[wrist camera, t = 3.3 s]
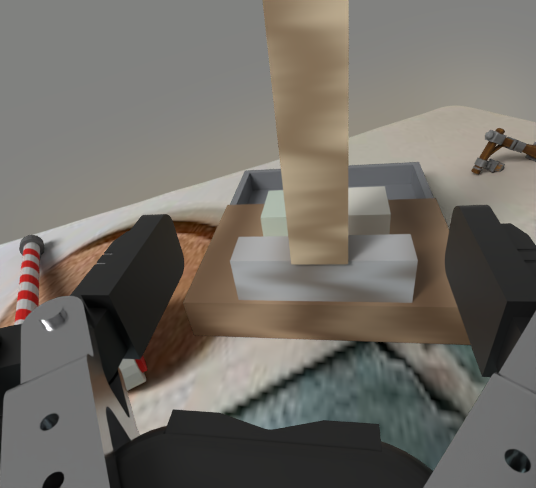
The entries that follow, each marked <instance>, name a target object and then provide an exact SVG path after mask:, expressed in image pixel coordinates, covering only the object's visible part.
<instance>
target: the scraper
mask: <svg viewBox="0 0 536 488" xmlns="http://www.w3.org/2000/svg"><path fill="white" fill-rule="evenodd" d="M263 8H264V16H265V27H266V35H267V44H268V54H269V63H270V73H271V82H272V90H273V100H274V109H275V119H276V128H277V137H278V147H279V156H280V165H281V174H282V183H283V193H284V202H285V211H286V220H287V230H288V236H264V237H239V238H238V240H237V243H236V246H235V249H234V251H233V254H232V257H231V260H230V264H231V268H232V273H233V277H234V282H235V286H236V290H237V295H238V299H239V300H268V301H330V302H392V303H412V300H413V293H414V285H415V278H416V270H417V263H418V259H417V256H416V252H415V248H414V245H413V241H412V237H411V234H388V235H348V65H349V62H348V60H349V58H348V56H349V53H348V52H349V50H348V49H349V44H348V43H349V42H348V41H349V36H348V34H349V31H348V30H349V29H348V28H349V24H348V23H349V0H263Z"/></svg>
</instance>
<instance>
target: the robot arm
mask: <svg viewBox="0 0 536 488" xmlns="http://www.w3.org/2000/svg"><path fill="white" fill-rule="evenodd" d="M183 270H184V256H183V253H182V249H181V246H180V243H179V240H178V237H177V234H176V230H175V227H174V224H173V221H172V219H171V217H170V216H169V215H167V214H160V215H143V216H141V217H140V219H139V220H138V221H137V222H136V224H135V225H134V226H133V228H132V229H131V230H130V231H127V232H126V233H125V234H123V235H122V236H120V237H119V238H118V239H116V240H115V241H113V243H112V244H111V245H110V246H109V248H108V249H107V250H106V251H105V252H104V255H102V256H101V257H100V259H99V260H98V261H97V265H94V266H93V267H92V269H91V270H90V271H89V272H88V274H87V275H86V276H85V277H84V279H83V280H82V281H81V282H80V284H79V285H78V286H77V287H76V289H75V290H74V291H73V292H72V294H71V295H70V296H62V297H58V298H54V299H52V300H49V301H47V302H45V303H43V304H41V305H40V306H38V307H37V308H35V309H34V310H33V311H32V312H31V313H30V314H29V315H28V316H27V317H26V318H25V320H24V321H23V323H22V324H18V325H13V326H9V327H4V328H0V488H536V245H535V244H534V242H533V241H532V239H531V238H530V237H529V235H528V234H526V233H525V232H523V231H522V230H520V229H519V228H517V227H515V226H514V225H512V224H511V223H508V224H501V223H500V222H499V220H498V219H497V217H496V216H495V214H494V212H493V211H492V209H491V208H490V206H488V205H469V206H456V207H455V208H454V210H453V213H452V218H451V224H450V229H449V235H448V240H447V246H446V251H445V271H446V276H447V279H448V282H449V284H450V287H451V290H452V293H453V296H454V299H455V301H456V304H457V307H458V310H459V313H460V315H461V318H462V321H463V324H464V327H465V330H466V332H467V335H468V338H469V341H470V344H471V347H472V349H473V352H474V355H475V358H476V361H477V363H478V366H479V369H480V372H481V375H482V377H491V378H490V379H489V381H488V383H487V384H486V386H485V388H484V389H483V391H482V392H481V394H480V396H479V397H478V399H477V401H476V402H475V404H474V406H473V407H472V409H471V410H470V412H469V414H468V415H467V417H466V419H465V420H464V422H463V424H462V425H461V427H460V429H459V430H458V432H457V433H456V435H455V437H454V438H453V440H452V442H451V443H450V445H449V447H448V448H447V450H446V451H445V453H444V455H443V456H442V458H441V460H440V461H439V463H438V465H437V466H436V468H435V469H434V471H432V470H431V469H430V468H429V467H427V466H426V465H425V464H423V463H422V462H421V461H420V460H418V459H417V458H415V457H413V456H412V455H410V454H408V453H407V452H405V451H403V450H401V449H399V448H397V447H395V446H393V445H390V444H387V443H384V442H382V441H381V439H380V429H379V424H369V423H355V422H341V421H327V420H323V421H318V422H312V423H307V424H301V425H296V426H290V427H285V428H279V429H273V430H268V429H263V428H261V427H258V426H255V425H252V424H249V423H247V422H244V421H241V420H238V419H235V418H233V417H230V416H227V415H224V414H221V413H214V412H200V411H186V410H173V411H172V414H171V416H170V419H169V422H168V425H167V426H164V427H161V428H157V429H154V430H151V431H149V432H146V433H144V434H142V435H140V434H139V431H138V429H137V426H136V422H135V419H134V415H133V411H132V408H131V404H130V400H129V397H128V393H127V389H126V386H125V382H124V378H123V375H122V372H121V370H120V368H119V366H120V364H121V362H122V360H123V359H138V360H140V359H141V357H142V355H143V353H144V351H145V349H146V347H147V345H148V343H149V341H150V339H151V337H152V335H153V333H154V331H155V329H156V327H157V325H158V323H159V321H160V319H161V317H162V315H163V313H164V311H165V309H166V307H167V305H168V303H169V301H170V299H171V297H172V295H173V293H174V291H175V289H176V287H177V285H178V283H179V280H180V278H181V276H182V274H183Z"/></svg>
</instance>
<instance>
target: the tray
mask: <svg viewBox="0 0 536 488" xmlns="http://www.w3.org/2000/svg"><path fill="white" fill-rule="evenodd" d="M379 186H385V190H386V194H387V199H388V200H394V199H425V198H434V197H433V195H432V192H431V190H430V188H429V185H428V183H427V180H426V178H425V176H424V173H423V171H422V168H421V166H420V163H419V162H409V163H389V164H369V165H349V166H348V188H353V187H379ZM277 190H283V183H282V174H281V169H269V170H249V171H245V172H244V174H243V177H242V179H241V181H240V183H239V185H238V188H237V190H236V192H235V194H234V197H233V199H232V201H231V203H230V205H241V204H265V201H266V198H267V195H268V191H277Z"/></svg>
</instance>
